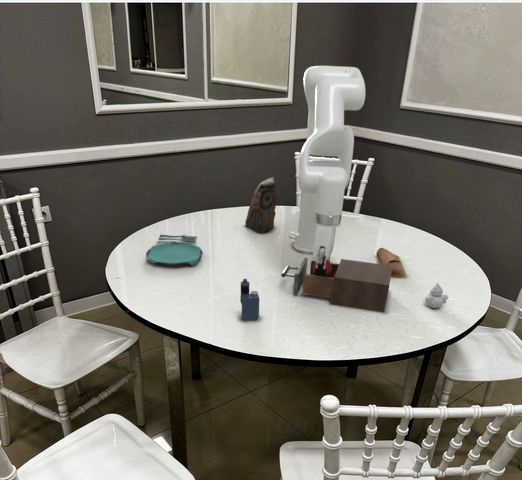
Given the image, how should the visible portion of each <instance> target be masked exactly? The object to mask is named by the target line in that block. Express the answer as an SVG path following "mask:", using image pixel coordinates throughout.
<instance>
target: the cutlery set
mask: <svg viewBox="0 0 522 480" xmlns="http://www.w3.org/2000/svg"><path fill="white" fill-rule="evenodd" d="M197 238H198V236H195V235H194V236H192V235H186V234H182V235H168V234H159V237H158V241H157V242H156V244H155V245H152V246H151V248H149V249H148V250H146V253H145V257H146V259H147V262H149V263H151V264H153V265H154V264H159V265H164V266H181V265H186V264H189V265H191V266H193V267H194V266H196V265H197V264H198V262H199V259H201V258H202V256H203V255H204V253H203V250H202V247H200V246H198V245H196V241H197Z"/></svg>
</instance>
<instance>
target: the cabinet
mask: <svg viewBox="0 0 522 480" xmlns="http://www.w3.org/2000/svg"><path fill="white" fill-rule="evenodd" d="M338 264H339V266H338V269H337V271H336V274H335V276H334V282H333V290H332V298H330V305H334V306H340V307H346V308H347V307H348V308H353V309H359V310H366V311H372V312H379V313H385V311H386V306H387V301H388V295H389V290H390V285H391V279H392V277H391V272H392V266H390V265H383V264H379V263H375V262H367V261H360V260H354V259H347V258H346V259H345V258H340V261H339V263H338Z"/></svg>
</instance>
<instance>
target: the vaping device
mask: <svg viewBox="0 0 522 480" xmlns="http://www.w3.org/2000/svg"><path fill="white" fill-rule="evenodd" d="M239 297H240V299H239V301H240V304H241V316H240V317H241V321H243V322H245V321H246V322H248V321H249V322H251V321H252V322H253V321H255V322H256V321H258V320H259V318H260V295H259V291H257V290H251V291H250V281H249V280H248V278H243V279H242V280H241V282H240V296H239Z"/></svg>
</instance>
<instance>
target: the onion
mask: <svg viewBox="0 0 522 480" xmlns="http://www.w3.org/2000/svg"><path fill="white" fill-rule="evenodd" d="M323 259H325V257H323ZM315 261H316V262H315V263H314V266H313V273H314V274H315V268H316V264H317V260H315ZM322 263H324V261H323V262H322ZM331 263H332V262H331V260H327V262H326V268H325V269H326V277H328V276H329V275H330V274H331V272H332V265H331Z"/></svg>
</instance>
